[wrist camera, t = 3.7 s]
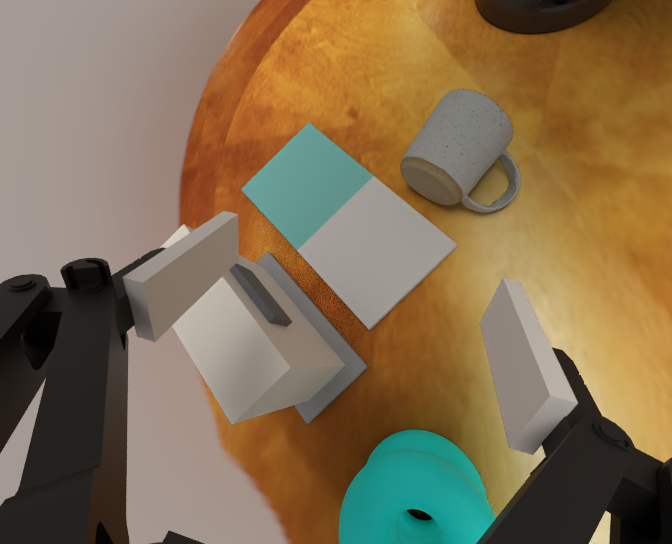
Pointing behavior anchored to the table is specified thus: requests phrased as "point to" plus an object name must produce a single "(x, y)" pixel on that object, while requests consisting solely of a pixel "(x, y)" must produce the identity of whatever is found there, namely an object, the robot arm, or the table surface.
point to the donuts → (415, 494)
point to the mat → (347, 224)
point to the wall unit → (265, 343)
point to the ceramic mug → (461, 150)
